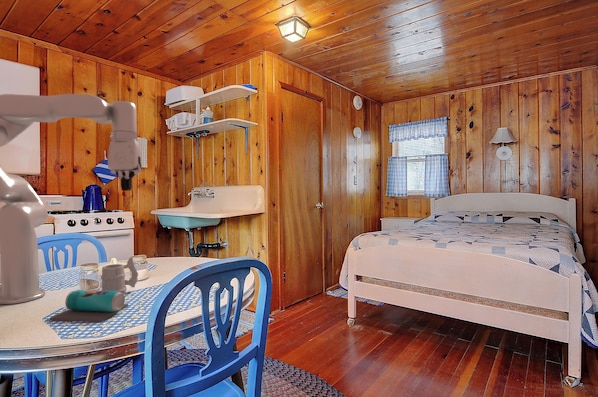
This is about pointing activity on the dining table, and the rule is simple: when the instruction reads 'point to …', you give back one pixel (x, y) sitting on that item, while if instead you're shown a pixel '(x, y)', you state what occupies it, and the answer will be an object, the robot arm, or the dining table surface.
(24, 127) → the robot arm
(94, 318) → the mat
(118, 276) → the mug
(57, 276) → the dining table surface
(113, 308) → the beverage can
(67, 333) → the dining table surface
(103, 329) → the dining table surface
